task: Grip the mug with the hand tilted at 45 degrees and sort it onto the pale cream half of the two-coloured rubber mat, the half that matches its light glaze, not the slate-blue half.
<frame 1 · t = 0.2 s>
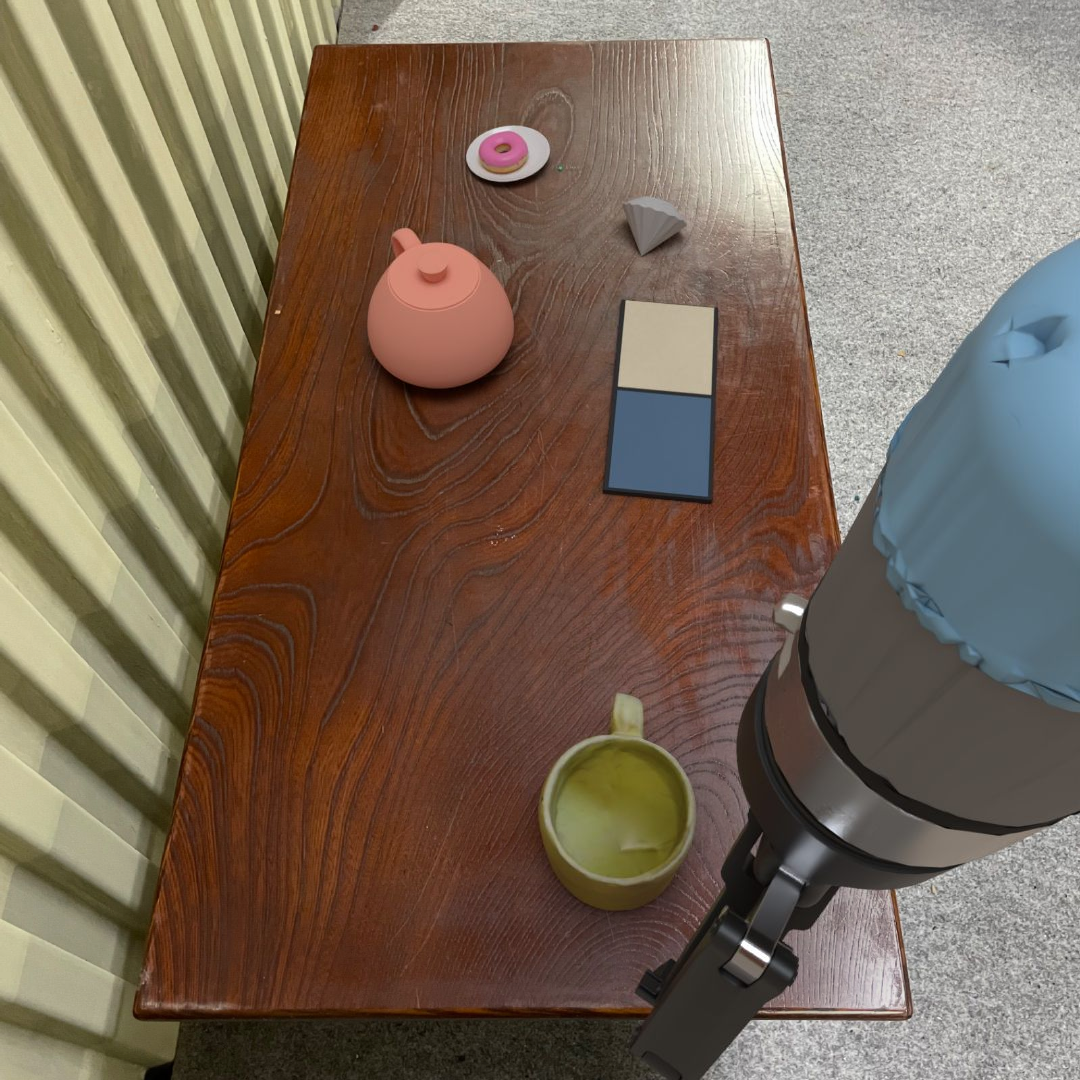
hand: (746, 864, 44), 17 cm above the table, tool pointing down, fingers open, 13 cm apart
mug: (614, 814, 63), on the table
cream pad: (666, 351, 81), resting on sorting mat
sorting mat: (663, 397, 79), on the table
donut: (522, 162, 93), on the table
gemstone: (651, 239, 88), on the table
sugar bowl: (439, 342, 82), on the table
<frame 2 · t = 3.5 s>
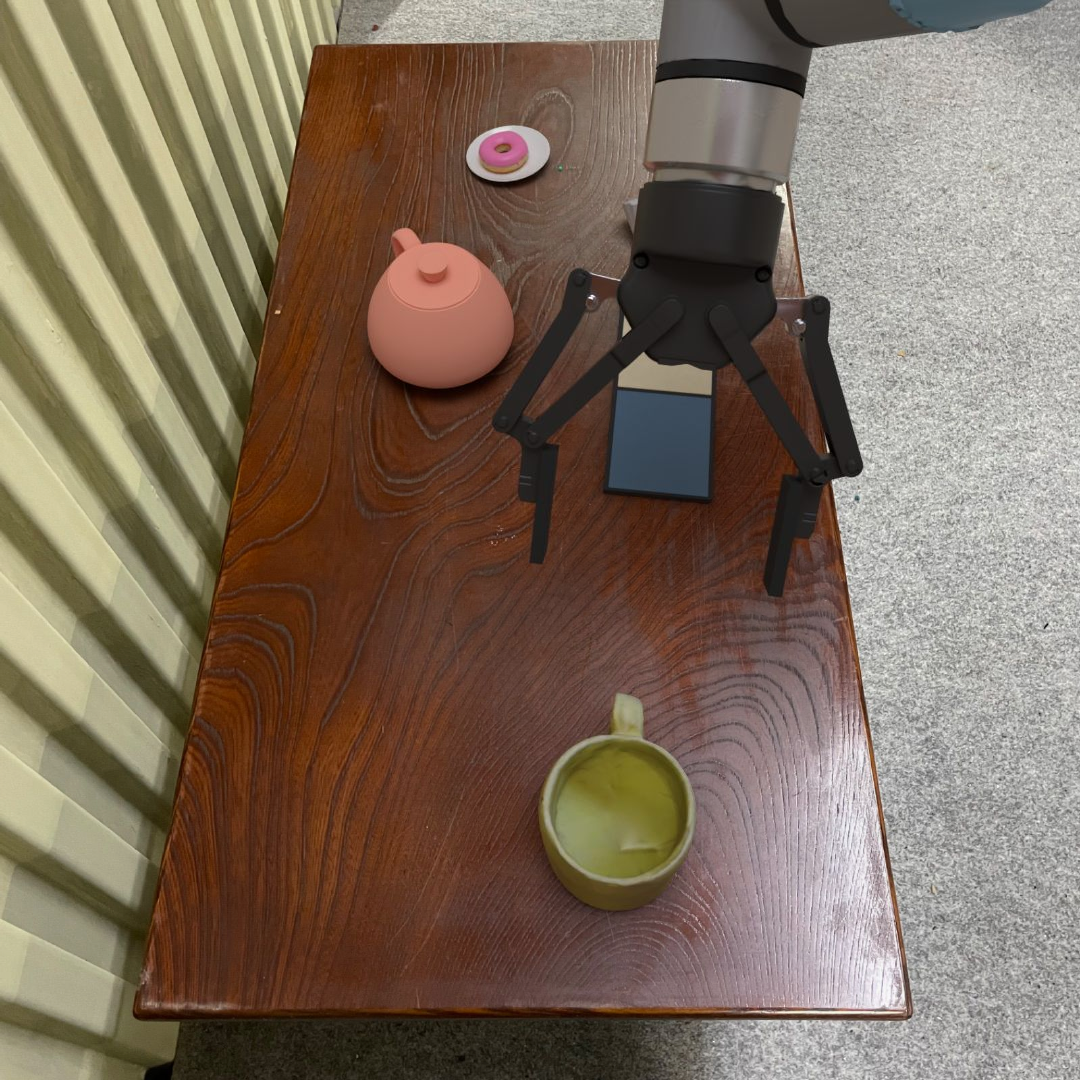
hand: (653, 573, 55), 15 cm above the table, tool tilted 45°, fingers open, 13 cm apart
nothing on the table moved.
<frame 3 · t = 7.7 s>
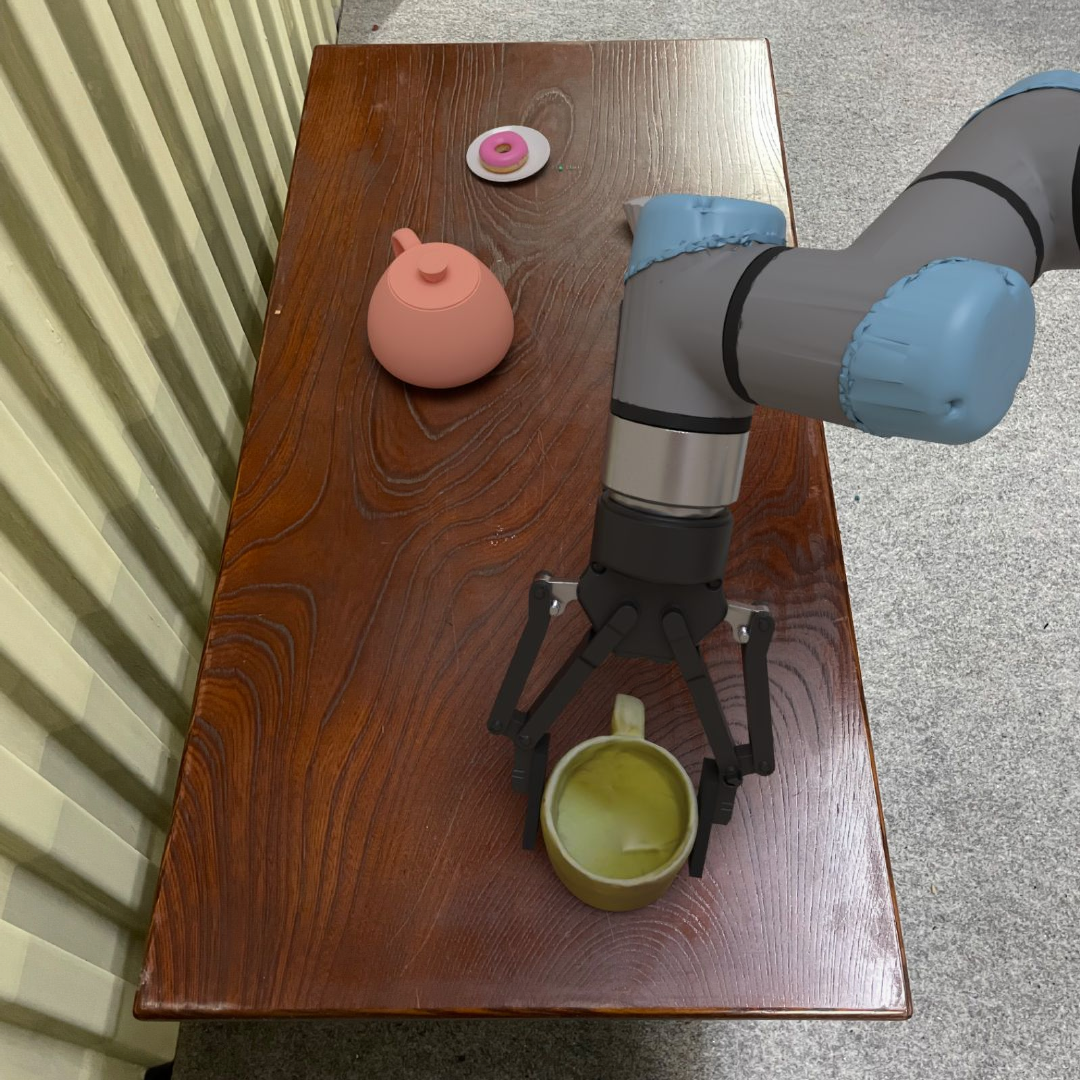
hand: (612, 850, 58), 4 cm above the table, tool tilted 45°, fingers closed on mug, 9 cm apart
mug: (616, 814, 63), on the table, touching gripper
everything else where it was.
when the fingers open (5 cm above the table, at t = 19.6 s): mug stays where it is, resting on cream pad.
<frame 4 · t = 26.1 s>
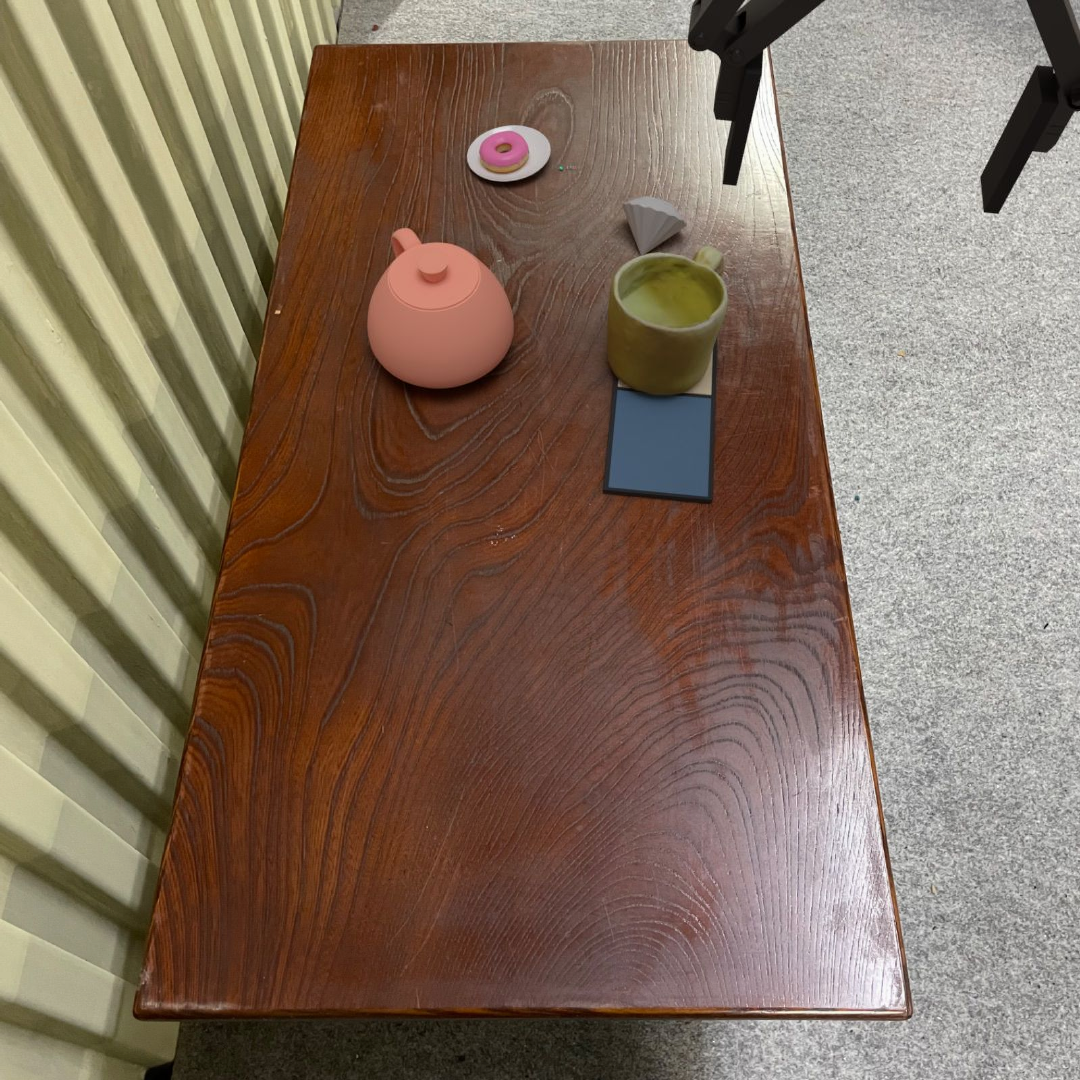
hand: (858, 182, 50), 29 cm above the table, tool pointing down, fingers open, 13 cm apart
mug: (668, 348, 81), point 1 cm above the table, touching cream pad
everything else where it was.
at the end: mug 0.2 cm from the cream pad (horizontally); mug tilted 0°; the gripper is holding nothing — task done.
